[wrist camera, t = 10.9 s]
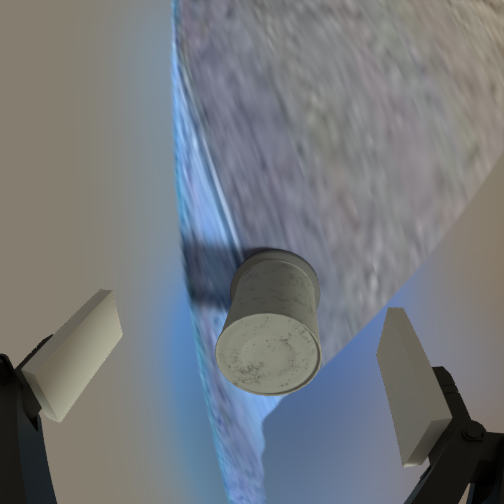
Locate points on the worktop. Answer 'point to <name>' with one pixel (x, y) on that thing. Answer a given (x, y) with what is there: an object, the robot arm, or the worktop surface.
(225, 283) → the worktop surface
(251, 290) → the grey marble cylinder
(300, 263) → the pad
